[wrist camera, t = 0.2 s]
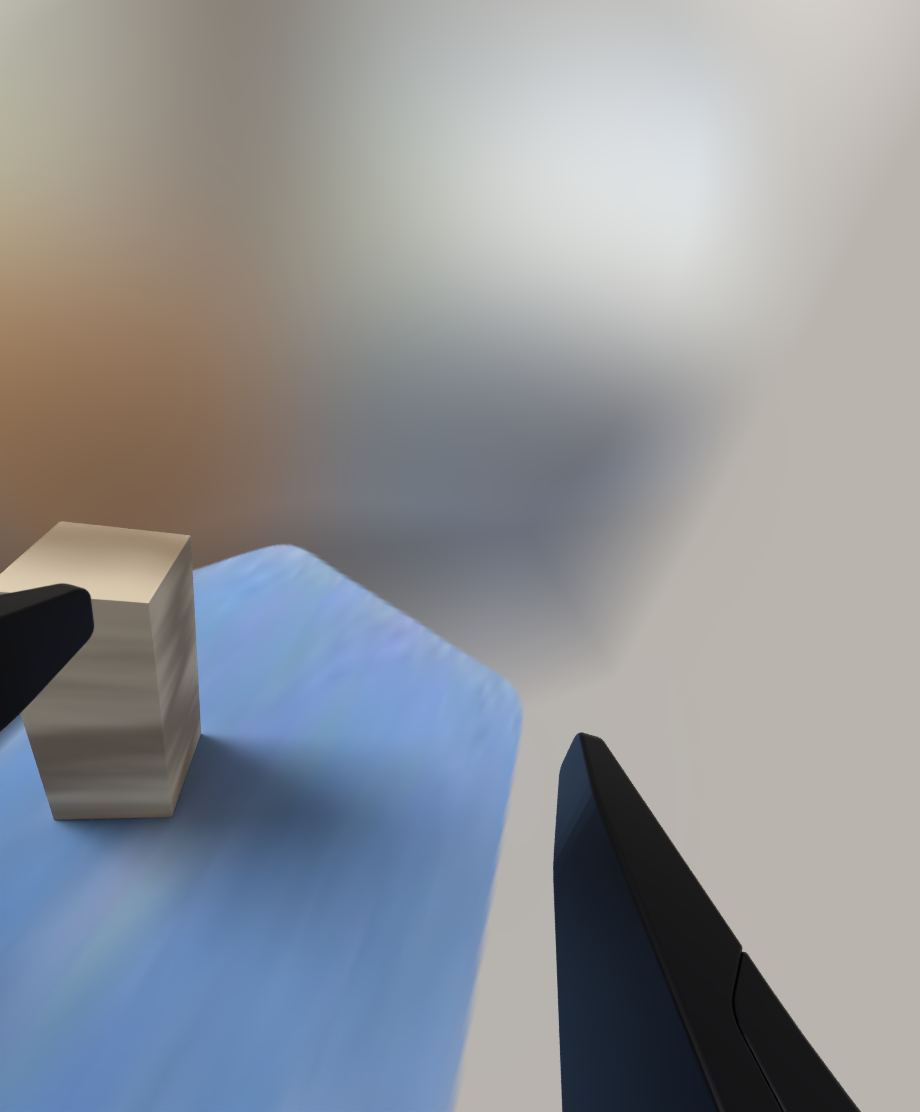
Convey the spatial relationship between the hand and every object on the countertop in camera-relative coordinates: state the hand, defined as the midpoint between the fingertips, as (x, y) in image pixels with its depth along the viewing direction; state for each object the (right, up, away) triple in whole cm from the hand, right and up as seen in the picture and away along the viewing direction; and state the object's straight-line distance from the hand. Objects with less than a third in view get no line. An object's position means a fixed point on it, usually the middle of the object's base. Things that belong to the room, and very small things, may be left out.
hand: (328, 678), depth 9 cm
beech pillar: (-13, -8, +14) cm, 21 cm away
